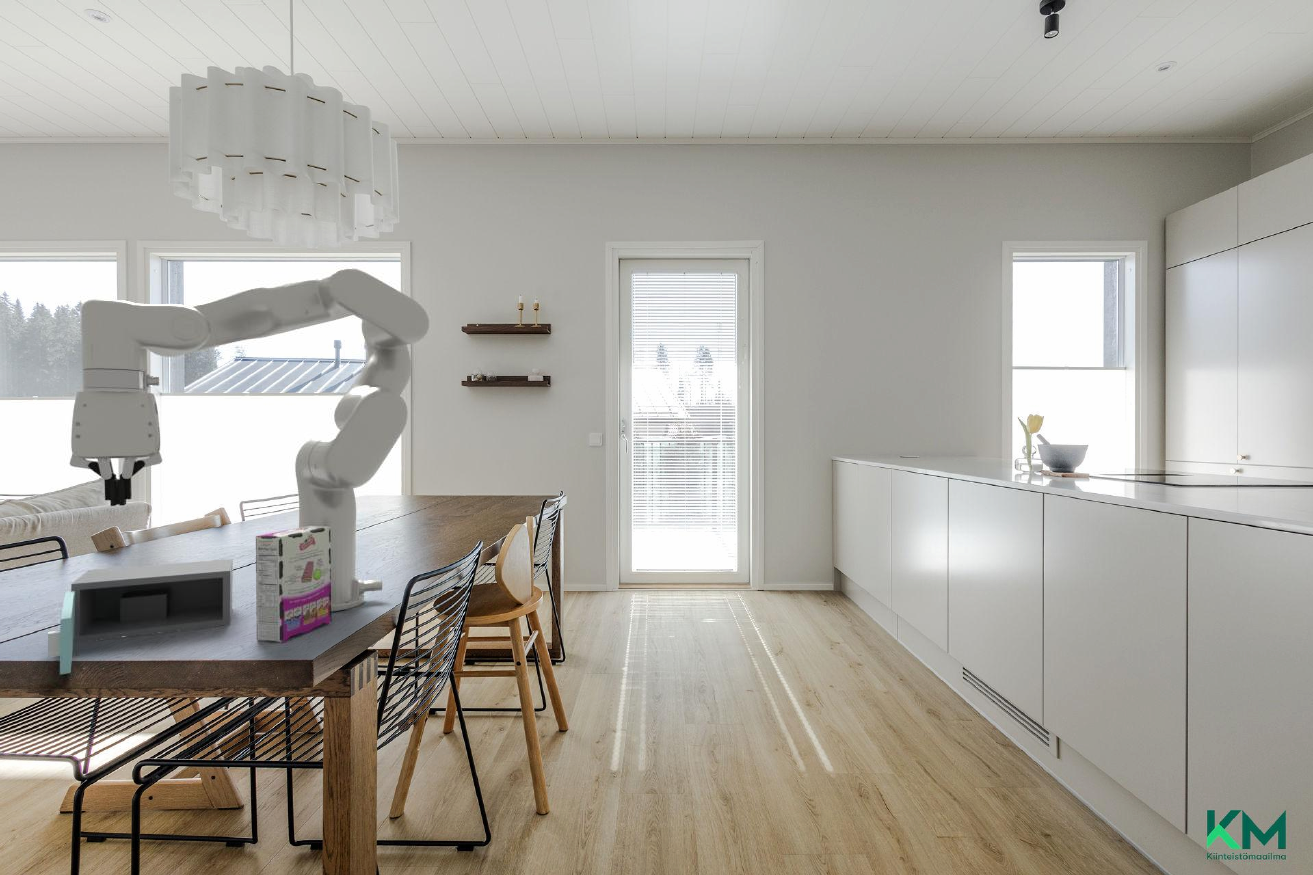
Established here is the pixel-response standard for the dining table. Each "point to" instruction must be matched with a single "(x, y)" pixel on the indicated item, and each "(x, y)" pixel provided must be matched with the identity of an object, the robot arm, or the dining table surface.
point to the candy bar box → (293, 582)
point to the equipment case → (152, 599)
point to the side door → (64, 634)
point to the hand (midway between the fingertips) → (118, 504)
